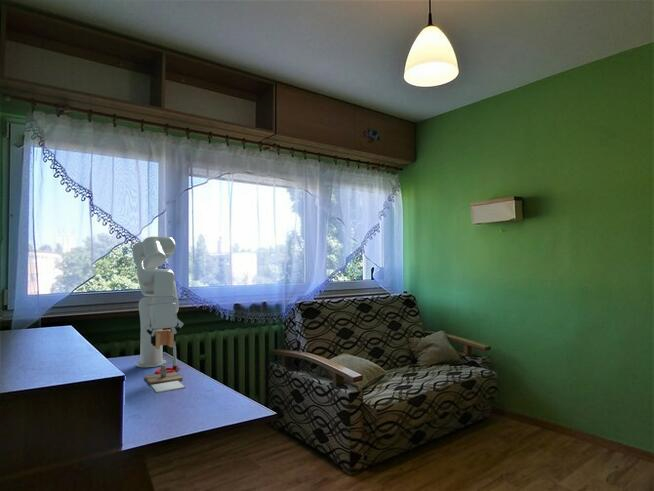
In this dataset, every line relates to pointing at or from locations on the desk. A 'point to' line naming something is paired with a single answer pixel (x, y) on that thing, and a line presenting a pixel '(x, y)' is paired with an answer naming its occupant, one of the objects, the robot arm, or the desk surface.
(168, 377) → the stand
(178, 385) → the pad
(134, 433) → the desk surface
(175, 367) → the tow hook
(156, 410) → the desk surface
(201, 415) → the desk surface
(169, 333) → the c link
